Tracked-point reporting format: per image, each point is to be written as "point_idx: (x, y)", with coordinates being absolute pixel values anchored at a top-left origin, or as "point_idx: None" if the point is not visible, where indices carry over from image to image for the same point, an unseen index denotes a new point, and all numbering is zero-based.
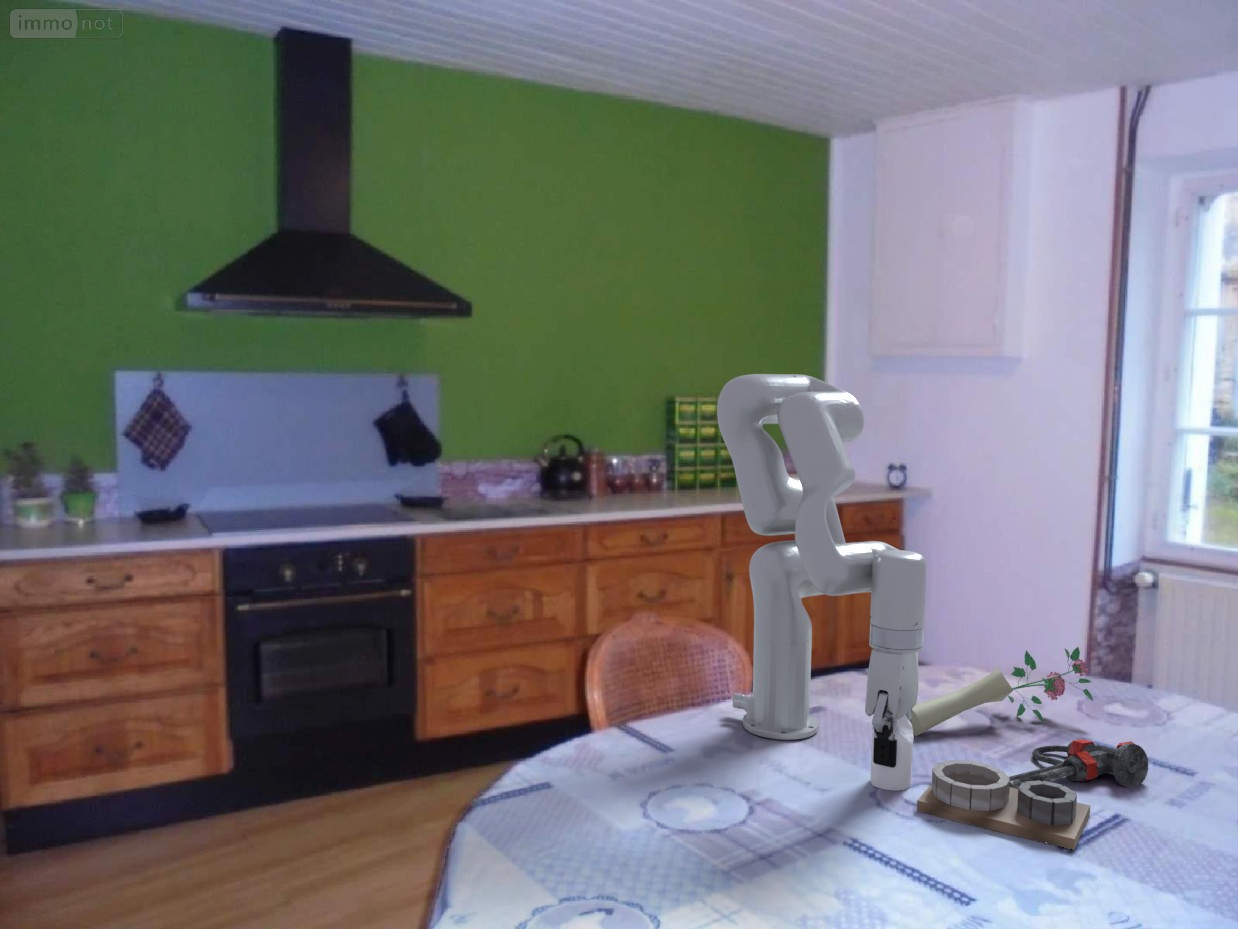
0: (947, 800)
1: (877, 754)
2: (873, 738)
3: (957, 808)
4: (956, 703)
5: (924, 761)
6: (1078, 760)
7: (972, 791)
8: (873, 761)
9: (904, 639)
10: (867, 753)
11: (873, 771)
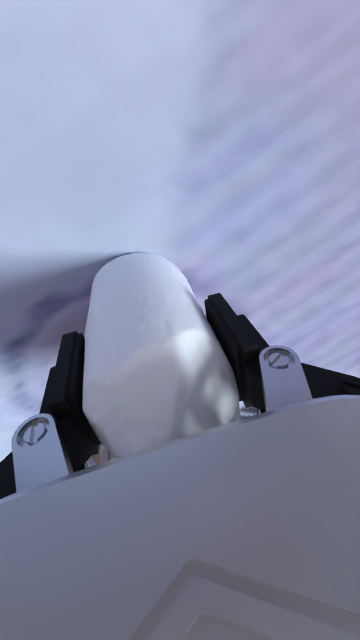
0: (101, 444)
1: (49, 377)
2: (88, 360)
3: (99, 452)
4: None
5: (314, 273)
6: None
7: None
8: (62, 336)
9: None
10: (299, 124)
11: (90, 299)
